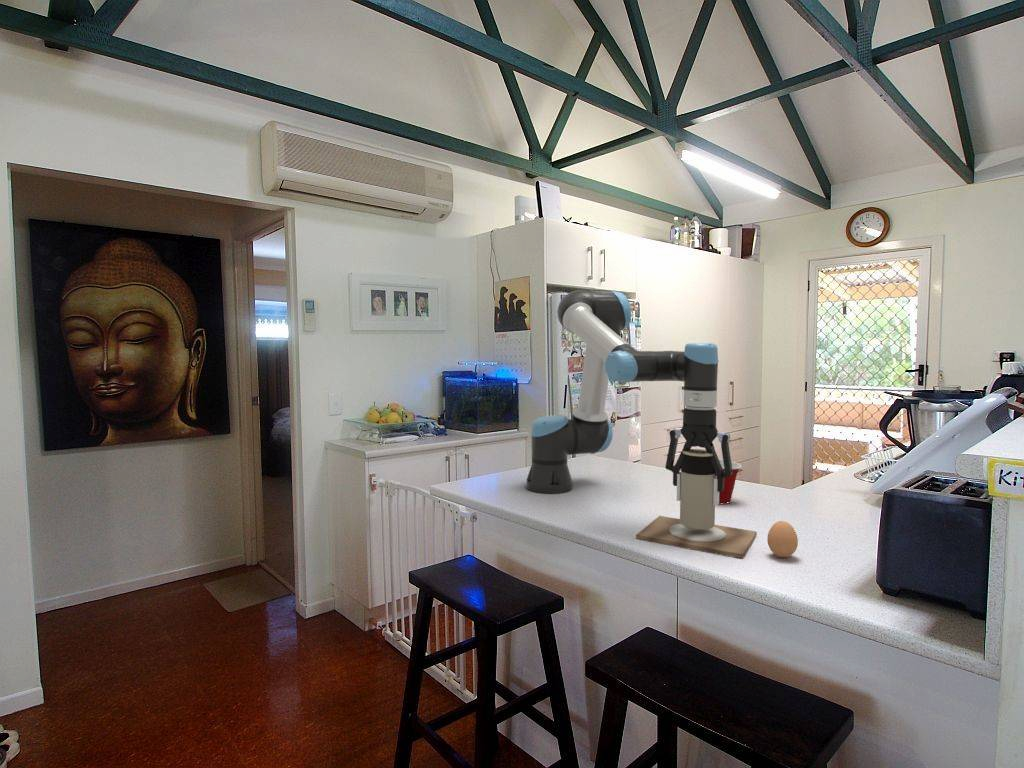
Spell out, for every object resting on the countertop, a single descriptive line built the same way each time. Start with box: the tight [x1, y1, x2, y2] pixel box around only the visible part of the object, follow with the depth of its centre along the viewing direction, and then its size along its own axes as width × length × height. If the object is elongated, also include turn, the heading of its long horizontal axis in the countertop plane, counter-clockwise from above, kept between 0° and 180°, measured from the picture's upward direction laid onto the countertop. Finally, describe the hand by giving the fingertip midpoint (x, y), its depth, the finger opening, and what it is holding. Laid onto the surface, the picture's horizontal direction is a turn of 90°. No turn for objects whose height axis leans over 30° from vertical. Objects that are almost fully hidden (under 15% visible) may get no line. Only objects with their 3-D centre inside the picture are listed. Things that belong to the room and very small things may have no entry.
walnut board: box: [635, 515, 757, 559], centre depth 135 cm, size 24×18×1 cm
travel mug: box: [679, 448, 716, 530], centre depth 135 cm, size 8×8×18 cm
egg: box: [767, 520, 799, 559], centre depth 122 cm, size 6×6×8 cm
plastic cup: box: [716, 458, 742, 503], centre depth 166 cm, size 11×11×12 cm
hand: (697, 501), depth 135 cm, fingers closed on travel mug, 8 cm apart
